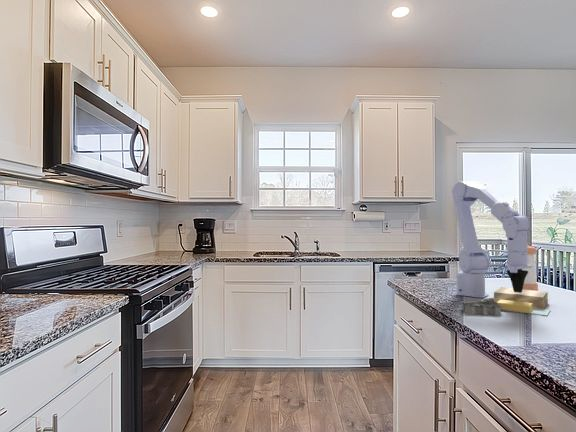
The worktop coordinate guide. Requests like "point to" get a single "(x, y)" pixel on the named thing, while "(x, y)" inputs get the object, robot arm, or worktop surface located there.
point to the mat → (536, 311)
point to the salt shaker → (531, 270)
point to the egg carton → (482, 307)
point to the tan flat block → (523, 296)
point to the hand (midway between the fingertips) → (517, 292)
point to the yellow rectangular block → (516, 306)
